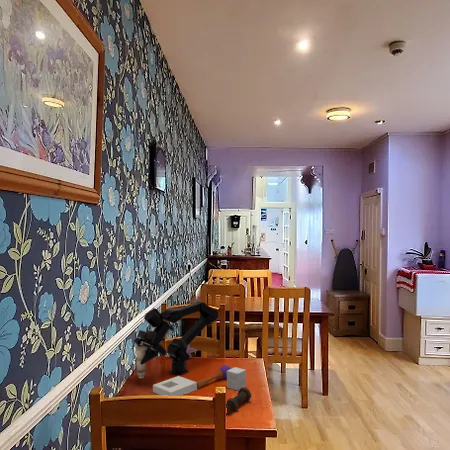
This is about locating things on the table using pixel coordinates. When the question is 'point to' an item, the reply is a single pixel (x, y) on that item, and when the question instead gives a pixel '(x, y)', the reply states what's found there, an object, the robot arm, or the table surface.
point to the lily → (190, 351)
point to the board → (175, 386)
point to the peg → (139, 356)
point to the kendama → (219, 375)
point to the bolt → (238, 400)
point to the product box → (236, 378)
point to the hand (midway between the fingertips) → (138, 363)
